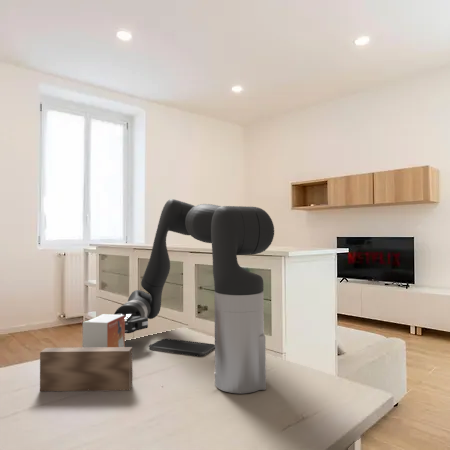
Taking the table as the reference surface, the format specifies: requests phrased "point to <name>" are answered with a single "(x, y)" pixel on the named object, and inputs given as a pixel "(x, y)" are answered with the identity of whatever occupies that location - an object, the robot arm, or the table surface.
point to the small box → (104, 331)
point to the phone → (182, 347)
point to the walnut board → (86, 369)
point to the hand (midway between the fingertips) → (113, 332)
